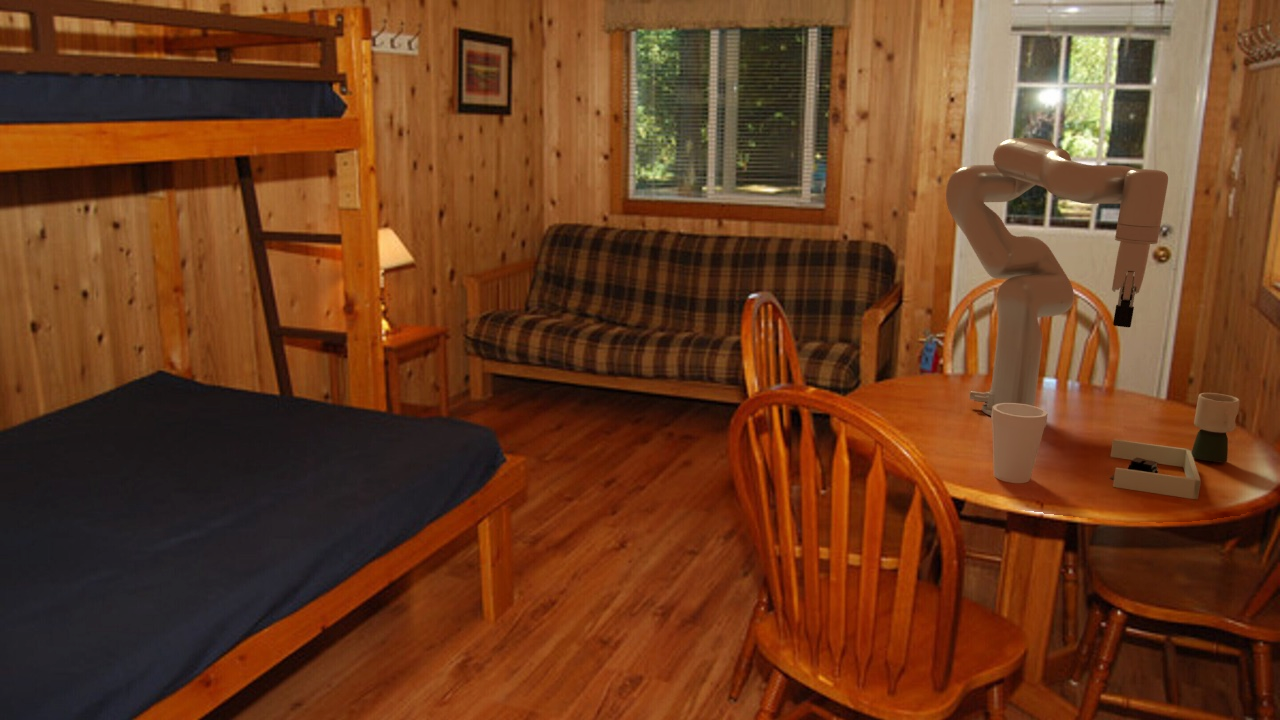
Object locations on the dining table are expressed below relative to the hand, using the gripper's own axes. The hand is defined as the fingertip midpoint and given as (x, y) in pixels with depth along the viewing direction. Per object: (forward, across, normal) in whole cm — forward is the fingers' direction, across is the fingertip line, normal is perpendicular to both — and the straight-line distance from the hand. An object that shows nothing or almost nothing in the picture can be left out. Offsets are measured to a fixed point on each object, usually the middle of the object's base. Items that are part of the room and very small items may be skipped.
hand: (1121, 325), depth 198 cm
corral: (+25, +16, +9) cm, 31 cm away
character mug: (+25, -1, +19) cm, 32 cm away
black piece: (+26, +20, +8) cm, 33 cm away
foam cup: (+25, +30, -14) cm, 42 cm away
